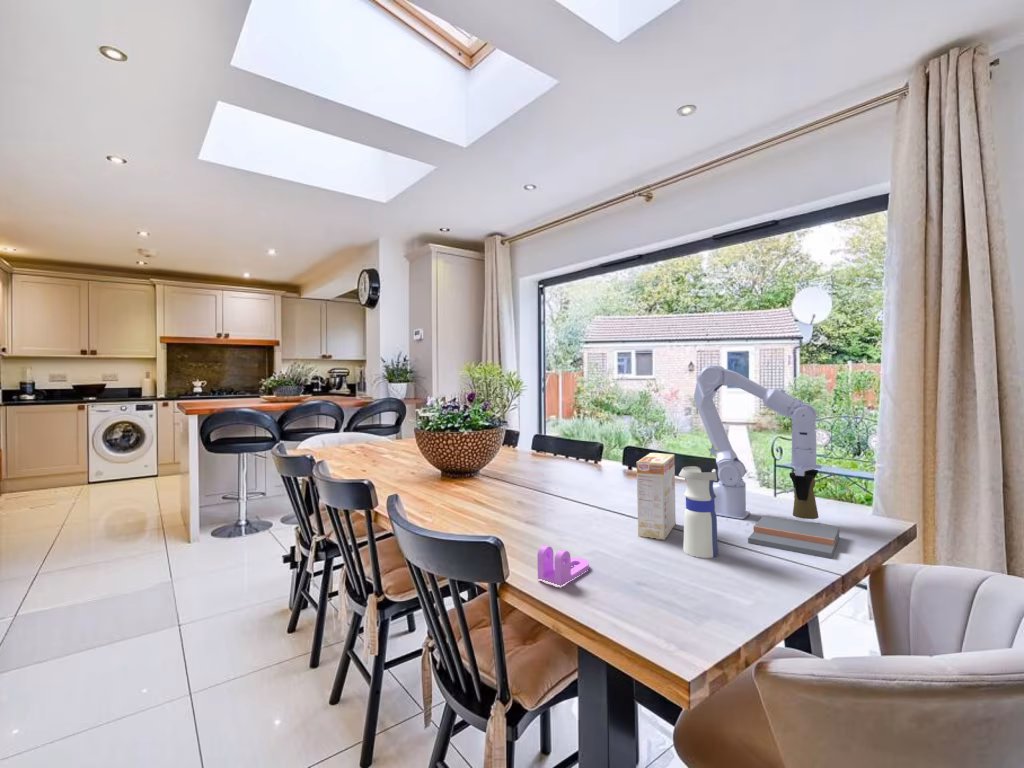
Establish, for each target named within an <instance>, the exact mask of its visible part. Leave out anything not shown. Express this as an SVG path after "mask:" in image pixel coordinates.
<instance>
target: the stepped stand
mask: <svg viewBox="0 0 1024 768" xmlns="http://www.w3.org/2000/svg"><path fill="white" fill-rule="evenodd" d="M839 539H840V527H839V526H833V525H827V524H820V523H815V522H809V521H800V520H794V519H787V518H782V517H776V516H775V517H774V516H768V515H763V516H762V517H761V518H760V519H759V520H758V521H757V522H756V523H755V524H754V525H753V532H752V533H751V534H750V535H749V536H748V538H747V543H748V544H753V545H757V546H762V547H768V548H774V549H778V550H785V551H790V552H793V553H800V554H805V555H810V556H815V557H821V558H827V559H832V558H833V557H834V553H835V550H836V548H837V545H838V542H839Z"/></svg>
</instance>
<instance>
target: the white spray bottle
mask: <svg viewBox="0 0 1024 768" xmlns="http://www.w3.org/2000/svg"><path fill="white" fill-rule="evenodd" d="M707 450H708V451H709V452H710V454H709V457H710V458H711V457H715V459H716V458H717V455H716V453H717V452H718V451H719V450H718V449H715V447H714V445H713V444H711V447H707ZM678 476H679V477H681V478H684V479H685V482H686V489H685V492H684V493H683V495H684V497H685V509H684V513H683V544H682V545H683V546H682V547H683V548H682V550H683V552H684V553H685V554H686V553H687V554H686V555H688V554H689V555H688V556H690V555H692V556H691V557H693V556H696V557H695V558H698V557H703V558H702V559H711V558H710V557H713V558H716V557H718V556H719V543H718V520H717V515H716V512H715V498H716V495H715V493H714V490H713V482H715V483H716V482H718V474H717V470H716V469H715V468H713V469H711V472H710V471H708V472H705V471H704V472H702V469H701V467H699V466H696V465H695V466H694V465H693V466H684V467H681V470H680V472H679V473H678ZM715 556H716V557H715Z"/></svg>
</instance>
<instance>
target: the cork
mask: <svg viewBox="0 0 1024 768" xmlns="http://www.w3.org/2000/svg"><path fill="white" fill-rule="evenodd" d="M815 487H816V480H815V479H814V478H813V480H812V482H811V485H810V489H809V495H808V499H807V501H804V500H798V498H797V495H796V490H795V491H794V499H793V500H794V501H793V509H792V516H794V517H795V518H799V519H803V520H805V519H806V520H816V519H819V516H820V515H819V512H818V511H819V510H818V506H817V500H816V496H815V490H814V488H815Z"/></svg>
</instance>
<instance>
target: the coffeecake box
mask: <svg viewBox="0 0 1024 768" xmlns="http://www.w3.org/2000/svg"><path fill="white" fill-rule="evenodd" d="M675 457H676V455H675V454H674V453H673V454H672V453H660V452H649V453H648V454H646V455H645V456H643V457H642V458H641V459H639V460H638V461H636V491H637V493H636V494H637V496H636V497H637V500H636V501H637V536H638V537H639V536H643V537H642V538H645V537H650V538H649V539H653V538H656V539H655V540H659V539H663V540H662V541H665V540H666V538H667V537H668V535H669V534H670V533H671V532H672V530H673V529H674V527H675V526H676V524H677V521H676V519H677V518H676V479H675V478H676V476H675V473H676V471H675V470H676V469H675V468H676V467H675V466H676V465H675Z"/></svg>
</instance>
